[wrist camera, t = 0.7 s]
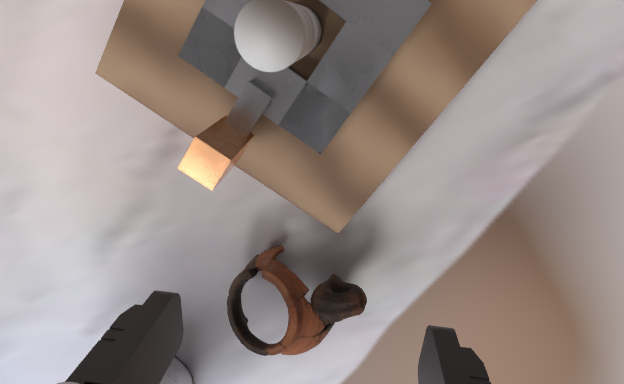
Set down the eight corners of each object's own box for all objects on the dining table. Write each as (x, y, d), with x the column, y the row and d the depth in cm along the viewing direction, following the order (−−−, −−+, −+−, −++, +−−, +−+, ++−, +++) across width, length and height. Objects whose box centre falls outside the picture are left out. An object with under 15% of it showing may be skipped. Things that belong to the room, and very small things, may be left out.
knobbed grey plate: (292, 189, 30) (275, 231, 24) (162, 101, 28) (107, 123, 22) (428, 4, 24) (452, -2, 18) (272, -121, 22) (239, -175, 16)
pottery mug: (287, 336, 40) (233, 373, 33) (265, 248, 41) (207, 265, 34) (395, 325, 34) (356, 367, 27) (365, 222, 35) (321, 236, 28)
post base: (339, 222, 33) (329, 319, 22) (111, 70, 30) (-30, 97, 19) (541, -19, 25) (685, -51, 14) (250, -267, 22) (139, -564, 11)
